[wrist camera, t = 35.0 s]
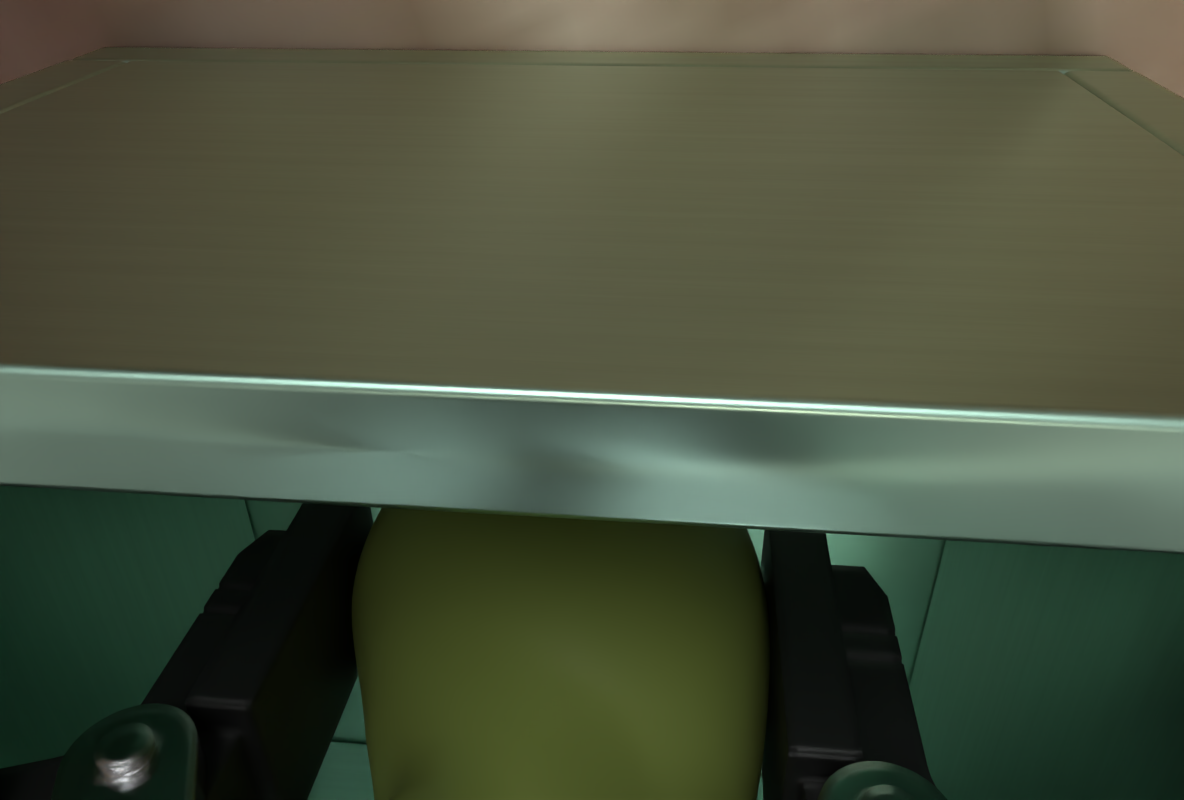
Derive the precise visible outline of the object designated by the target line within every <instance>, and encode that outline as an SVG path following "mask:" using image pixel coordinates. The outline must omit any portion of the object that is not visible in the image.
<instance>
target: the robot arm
mask: <svg viewBox="0 0 1184 800" xmlns="http://www.w3.org/2000/svg"><path fill="white" fill-rule="evenodd" d="M372 525H373V518H372V513H371V508H370V507H360V506H343V505H325V504H308V503H303V504H302V505H301V507H300V509H299V510H298V512H297V514H296V515H295V517H294V519H293V520H292V522H291V524H290V525H289V527H288V529H287V530H286V531H284V530H268V531H266V532H265V533H264V534H263V535H261V536H260V537H259V538H258V539H256V540H255V541H254V542H253V543H251V544H250V545H249V546H247V547H246V548H245V549H244V550H242V551H241V552H240V553H239V554H238V555H237V556H236V558H235V559H234V561H233V562H232V564H231V566H230V567H229V569H228V570H227V572H226V573H225V575H224V576H223V578H222V579H221V581H220V583H219V589H215V590H214V592H213V593H212V595H211V597H210V598H209V600H208V601H207V603H206V604H205V606H204V611H203V613H200V614H199V615H198V617H197V618H196V620H195V621H194V623H193V624H192V626H191V628H190V629H189V631H188V632H187V634H186V635H185V637H184V638H183V640H182V641H181V643H180V645H179V646H178V648H177V649H176V651H175V652H174V654H173V655H172V657H171V658H170V660H169V662H168V663H167V665H166V666H165V668H164V669H163V671H162V672H161V674H160V676H159V677H158V679H157V680H156V682H155V683H154V685H153V686H152V688H151V689H150V691H149V693H148V694H147V696H146V697H145V699H144V700H143V702H142V703H141V704H140V705H136V706H133V707H129V708H126V709H123V710H120V711H118V712H115V713H113V714H111V715H109V716H107V717H105V718H103V719H101V720H100V721H98V722H97V723H95V724H94V725H92V726H91V727H90V728H89V729H87V730H86V731H85V732H84V733H82V734H81V735H80V736H79V737H78V738H77V739H76V740H75V742H74V743H73V744H72V745H71V746H70V748H69V749H68V750H67V752H66V753H65V755H63V756H59V757H55V758H51V759H46V760H41V761H36V762H31V763H26V764H21V765H16V766H11V767H6V768H1V769H0V800H307V799H308V796H309V794H310V792H311V789H312V787H313V784H314V782H315V779H316V777H317V775H318V772H319V770H320V767H321V765H322V762H323V760H324V757H325V755H326V753H327V750H328V748H329V745H330V743H331V740H332V738H333V735H334V733H335V731H336V728H337V726H338V723H339V721H340V718H341V716H342V714H343V711H344V709H345V706H346V704H347V701H348V699H349V696H350V694H351V692H352V689H353V687H354V684H355V682H356V679H357V677H358V670H357V664H356V657H355V650H354V642H353V631H352V595H353V587H354V580H355V575H356V571H357V567H358V563H359V559H360V556H361V553H362V550H363V547H364V544H365V542H366V539H367V537H368V534H369V532H370V530H371V528H372ZM760 568H761V572H762V577H763V582H764V587H765V593H766V600H767V608H768V618H769V632H770V680H769V699H768V713H767V725H766V735H765V745H764V753H763V761H762V786H763V800H947V798H946V797H945V796H944V795H943V794H942V793H941V792H940V791H939V790H938V789H937V788H936V786H935V784H934V782H933V780H932V778H931V775H930V772H929V769H928V766H927V761H926V757H925V753H924V749H923V744H922V740H921V736H920V732H919V727H918V723H917V719H916V715H915V710H914V706H913V702H912V698H911V693H910V689H909V685H908V681H907V676H906V672H905V668H904V664H902V655H901V651H900V647H899V642H898V638H897V636H895V625H894V621H893V617H892V613H891V608H890V604H889V600H888V596H887V595H886V594H885V592H884V591H883V590H882V589H881V587H880V586H879V585H878V583H877V582H876V581H875V580H874V578H873V577H872V576H871V575H870V573H869V572H868V571H867V570H866V568H865V567H862V566H846V565H831V561H830V555H829V549H828V544H827V538H826V533H811V532H794V531H777V530H765V531H764V539H763V548H762V557H761V566H760Z"/></svg>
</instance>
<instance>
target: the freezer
mask: <svg viewBox="0 0 1184 800" xmlns="http://www.w3.org/2000/svg"><path fill="white" fill-rule="evenodd" d="M303 503H308V504H325V505H343V506H360V507H370V508H371V513H372V518H373V523H374V521H375V519H376V517H377V515H378V514H379V512H380V510H381V508H395V509H412V510H429V511H447V512H464V513H482V514H499V515H516V516H534V517H551V518H568V519H586V520H603V521H620V522H638V523H655V524H673V525H690V526H707V527H725V528H742V529H747V530H748V533H749V535H750V537H751V540H752V543H753V545H754V548H755V551H756V554H757V557H758V561H759V564H760V566H761V557H762V548H763V539H764V531H765V530H777V531H794V532H811V533H826V538H827V544H828V549H829V555H830V561H831V565H846V566H862V567H865V568H866V570H867V571H868V572H869V573H870V575H871V576H872V577H873V578H874V580H875V581H876V582H877V583H878V585H879V586H880V587H881V589H882V590H883V591H884V592H885V594H886V595H887V596H888V600H889V604H890V608H891V613H892V617H893V621H894V625H895V636H897V638H898V642H899V647H900V651H901V655H902V664H904V668H905V672H906V676H907V681H908V685H909V689H910V693H911V698H912V702H913V706H914V710H915V715H916V719H917V723H918V727H919V732H920V736H921V740H922V744H923V749H924V753H925V757H926V761H927V766H928V769H929V772H930V775H931V778H932V780H933V782H934V784H935V786H936V788H937V789H938V790H939V791H940V792H941V793H942V794H943V795H944V796H945V797H946V798H947V800H1184V98H1182V97H1180V96H1178V95H1177V94H1175V93H1173V92H1171V91H1169V90H1168V89H1166V88H1164V87H1162V86H1161V85H1159V84H1157V83H1155V82H1153V81H1152V80H1150V79H1148V78H1146V77H1145V76H1143V75H1141V74H1139V73H1137V72H1133V70H1131V69H1129V68H1127V67H1126V66H1124V65H1122V64H1120V63H1119V62H1117V61H1115V60H1113V59H1111V58H1109V57H1107V56H1037V55H926V54H814V53H702V52H591V51H479V50H368V49H256V48H145V47H104V48H101V49H99V50H96V51H93V52H90V53H88V54H85V55H82V56H79V57H77V58H75V59H73V60H67V61H64V62H61V63H59V64H56V65H53V66H50V67H48V68H45V69H42V70H39V71H37V72H34V73H31V74H28V75H26V76H23V77H20V78H17V79H15V80H12V81H9V82H6V83H4V84H1V85H0V769H1V768H6V767H11V766H16V765H21V764H26V763H31V762H36V761H41V760H46V759H51V758H55V757H59V756H63V755H65V753H66V752H67V750H68V749H69V748H70V746H71V745H72V744H73V743H74V742H75V740H76V739H77V738H78V737H79V736H80V735H81V734H82V733H84V732H85V731H86V730H87V729H89V728H90V727H91V726H92V725H94V724H95V723H97V722H98V721H100V720H101V719H103V718H105V717H107V716H109V715H111V714H113V713H115V712H118V711H120V710H123V709H126V708H129V707H133V706H136V705H140V704H141V703H142V702H143V700H144V699H145V697H146V696H147V694H148V693H149V691H150V689H151V688H152V686H153V685H154V683H155V682H156V680H157V679H158V677H159V676H160V674H161V672H162V671H163V669H164V668H165V666H166V665H167V663H168V662H169V660H170V658H171V657H172V655H173V654H174V652H175V651H176V649H177V648H178V646H179V645H180V643H181V641H182V640H183V638H184V637H185V635H186V634H187V632H188V631H189V629H190V628H191V626H192V624H193V623H194V621H195V620H196V618H197V617H198V615H199V614H200V613H203V611H204V606H205V604H206V603H207V601H208V600H209V598H210V597H211V595H212V593H213V592H214V590H215V589H219V583H220V581H221V579H222V578H223V576H224V575H225V573H226V572H227V570H228V569H229V567H230V566H231V564H232V562H233V561H234V559H235V558H236V556H237V555H238V554H239V553H240V552H241V551H242V550H244V549H245V548H246V547H247V546H249V545H250V544H251V543H253V542H254V541H255V540H256V539H258V538H259V537H260V536H261V535H263V534H264V533H265V532H266V531H268V530H284V531H286V530H287V529H288V527H289V525H290V524H291V522H292V520H293V519H294V517H295V515H296V514H297V512H298V510H299V509H300V507H301V505H302V504H303ZM307 800H374V792H373V784H372V777H371V770H370V764H369V757H368V750H367V743H366V735H365V724H364V714H363V705H362V696H361V689H360V682H359V676H358V677H357V679H356V682H355V684H354V687H353V689H352V692H351V694H350V696H349V699H348V701H347V704H346V706H345V709H344V711H343V714H342V716H341V718H340V721H339V723H338V726H337V728H336V731H335V733H334V735H333V738H332V740H331V743H330V745H329V748H328V750H327V753H326V755H325V757H324V760H323V762H322V765H321V767H320V770H319V772H318V775H317V777H316V779H315V782H314V784H313V787H312V789H311V792H310V794H309V796H308V799H307ZM756 800H763V786H762V769H761V776H760V782H759V788H758V794H757V799H756Z"/></svg>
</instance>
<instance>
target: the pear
mask: <svg viewBox="0 0 1184 800" xmlns="http://www.w3.org/2000/svg"><path fill="white" fill-rule="evenodd" d="M352 631H353V642H354V650H355V657H356V664H357V670H358V676H359V682H360V689H361V696H362V705H363V714H364V724H365V735H366V743H367V750H368V757H369V764H370V770H371V777H372V784H373V792H374V800H756V799H757V794H758V788H759V782H760V776H761V769H762V761H763V753H764V745H765V735H766V725H767V713H768V699H769V680H770V632H769V618H768V608H767V600H766V593H765V587H764V582H763V577H762V572H761V568H760V564H759V561H758V557H757V554H756V551H755V548H754V545H753V543H752V540H751V537H750V535H749V533H748V530H747V529H742V528H725V527H707V526H690V525H673V524H655V523H638V522H620V521H603V520H586V519H568V518H551V517H534V516H516V515H499V514H482V513H464V512H447V511H429V510H412V509H395V508H381V510H380V512H379V514H378V515H377V517H376V519H375V521H374V523H373V525H372V528H371V530H370V532H369V534H368V537H367V539H366V542H365V544H364V547H363V550H362V553H361V556H360V559H359V563H358V567H357V571H356V575H355V580H354V587H353V595H352Z"/></svg>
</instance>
